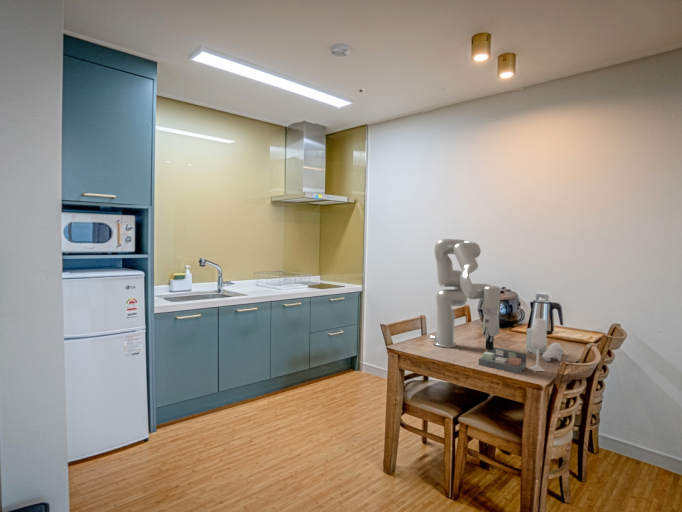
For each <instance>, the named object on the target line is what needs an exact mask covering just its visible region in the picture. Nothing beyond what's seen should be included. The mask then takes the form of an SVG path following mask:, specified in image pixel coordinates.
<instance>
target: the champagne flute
mask: <svg viewBox="0 0 682 512" xmlns="http://www.w3.org/2000/svg"><path fill="white" fill-rule="evenodd" d="M546 321H547V319H545V318H543V317H535V318H534V319H533V323H532V325H533V326H532V328H533V330H532V337H531V343H532V345H533V346H534V347H535V348H536V349H537V354H536V356H535V357H536V361H535V365H533V366H531V367H529V368H530V369H532V370H537V371H544V370H545V369H544V368H543V367H541V366H539V365H540V354H539V353H540V349H542V348H543V347H545V346H546V347H547V343H548V342H547V341H548V340H547V338H546V330H547V323H546ZM530 369H529V370H530ZM532 370H531V371H532Z"/></svg>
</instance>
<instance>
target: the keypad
mask: <svg viewBox="0 0 682 512" xmlns="http://www.w3.org/2000/svg"><path fill="white" fill-rule="evenodd" d="M486 352H490V353H495V358H497V357H502V358H507V359H509V358H510V357H515V358H519V359H521V365H519V366H515V365H510V364H508V362H507V363H501V362H497V361H495V359H493V360H488V359H483V358H482V356H481V357H479V358H478V366H481V365H482V367H485V368H490V367H491V369H494V368H496V370H499V369H500V371H503V370H504V371H503V372H507V371H508V373H512V372H513V373H512V374H516V373H519V374H520V373H522V370H523V369H524V370H525V369H527V355H528V354H527V352H526V353H525V352H521V351H516V350H512V349H506V348H502V347H501V348H500V347H496V346H493V350H488V349H486ZM524 370H523V371H524Z"/></svg>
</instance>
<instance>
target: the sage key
mask: <svg viewBox="0 0 682 512" xmlns="http://www.w3.org/2000/svg"><path fill="white" fill-rule="evenodd" d="M481 357H482V358H483V359H488V360H493V359H495V353H490V352H487V351H484V352H483V353H482V356H481Z"/></svg>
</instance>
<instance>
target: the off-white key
mask: <svg viewBox="0 0 682 512" xmlns="http://www.w3.org/2000/svg"><path fill="white" fill-rule="evenodd" d="M495 361H497V362H501V363H507V362H508V359H507V358H502V357H497V358H495Z"/></svg>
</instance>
